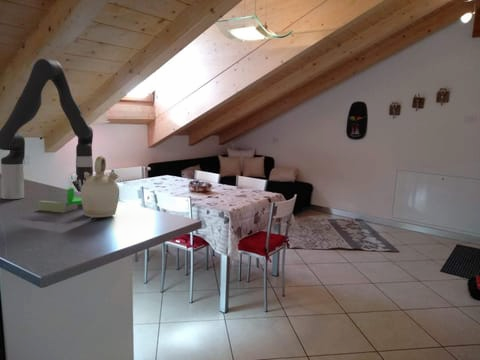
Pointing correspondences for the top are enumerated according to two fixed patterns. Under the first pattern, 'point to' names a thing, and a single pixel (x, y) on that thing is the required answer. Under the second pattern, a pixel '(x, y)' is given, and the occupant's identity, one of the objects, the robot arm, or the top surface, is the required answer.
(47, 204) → the low bench
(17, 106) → the robot arm
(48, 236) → the top surface
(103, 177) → the jug
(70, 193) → the mechanical part
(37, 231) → the top surface
